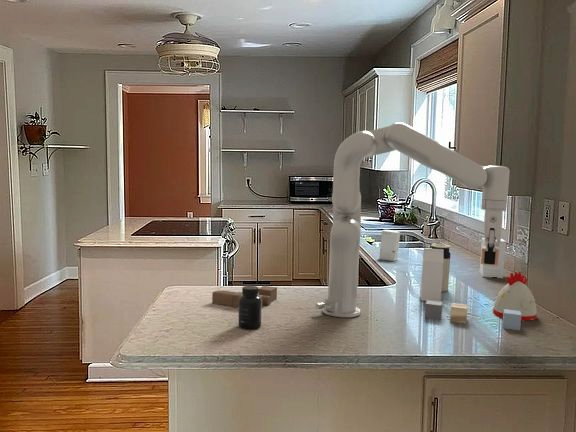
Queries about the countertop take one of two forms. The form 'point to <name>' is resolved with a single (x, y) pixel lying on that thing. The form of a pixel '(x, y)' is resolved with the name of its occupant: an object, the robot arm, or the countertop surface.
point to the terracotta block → (495, 255)
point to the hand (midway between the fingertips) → (489, 261)
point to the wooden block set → (232, 298)
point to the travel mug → (444, 264)
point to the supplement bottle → (250, 308)
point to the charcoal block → (433, 310)
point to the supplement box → (493, 269)
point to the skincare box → (389, 245)
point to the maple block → (458, 313)
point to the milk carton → (432, 275)
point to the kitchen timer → (516, 298)
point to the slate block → (511, 319)
